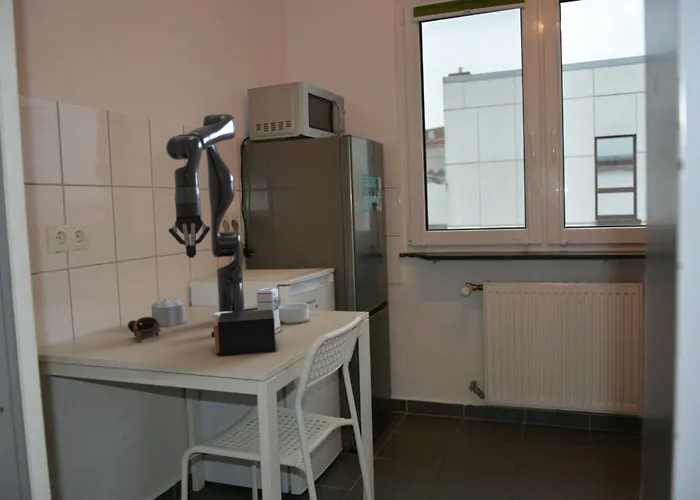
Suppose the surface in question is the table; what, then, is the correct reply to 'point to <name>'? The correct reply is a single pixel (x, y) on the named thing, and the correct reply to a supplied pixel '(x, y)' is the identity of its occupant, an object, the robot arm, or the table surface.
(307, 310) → the saucepan
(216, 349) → the orange pull-out drawer
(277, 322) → the syrup box
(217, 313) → the white tapered cup
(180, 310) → the lumpy-topped squat cylinder
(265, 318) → the small drawer unit
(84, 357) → the table surface
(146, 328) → the brown hollow curved piece
